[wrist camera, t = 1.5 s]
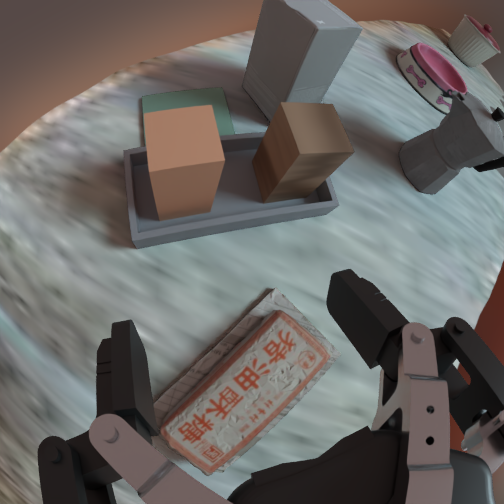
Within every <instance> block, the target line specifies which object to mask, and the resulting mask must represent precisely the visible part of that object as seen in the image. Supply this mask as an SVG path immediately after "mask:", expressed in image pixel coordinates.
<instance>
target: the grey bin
mask: <svg viewBox="0 0 504 504" xmlns="http://www.w3.org/2000/svg"><path fill="white" fill-rule="evenodd" d="M265 133H266V132H260V133H245V134H233V135H222V136H219V137H220V141H221V145H222V149H223V153H224V158H225V163H224V166H223V170H222V173H221V176H220V180H219V183H218V187H217V190H216V194H215V197H214V201H213V205H212V208H211V212H209V213H203V214H197V215H192V216H186V217H181V218H175V219H170V220H165V221H160V220H159V216H158V212H157V208H156V203H155V199H154V194H153V189H152V184H151V180H150V175H149V168H148V158H147V148H146V146H144V147H138V148H133V149H128V150H123V151H124V169H125V182H126V193H127V203H128V213H129V221H130V229H131V236H132V242H133V243H134V245H135V246H136V248H137V249H140V248H145V247H150V246H155V245H160V244H165V243H170V242H175V241H180V240H186V239H191V238H196V237H201V236H207V235H212V234H217V233H223V232H228V231H234V230H239V229H245V228H251V227H256V226H262V225H268V224H274V223H279V222H285V221H291V220H297V219H303V218H309V217H315V216H322V215H327V214H328V213H329V212H331V211H332V210H334V209H335V208H336V207H338V206H339V203H338V200H337V197H336V194H335V191H334V188H333V185H332V182H331V179H330V177H328V178H327V179H326V180H325V181H324V182H322V183H321V184H320V185H319V186H318V187H317V188H316V189H315V190H314V191H313V192H312V193H311V194H310V195H309V196H308V197H307V198H301V199H294V200H286V201H279V202H272V203H265V204H263V200H262V197H261V193H260V189H259V186H258V182H257V179H256V175H255V171H254V168H253V164H252V160H253V158H254V156H255V154H256V151H257V149H258V147H259V145H260V143H261V141H262V139H263V137H264V135H265Z"/></svg>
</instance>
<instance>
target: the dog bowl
mask: <svg viewBox="0 0 504 504" xmlns="http://www.w3.org/2000/svg"><path fill="white" fill-rule="evenodd" d="M396 62H397V65H398V67H399V69H400V71H401V73H402V74H403V76H404V77H405V79H406V80H407V81H408V83H409V84H410V85H411V86H412V87H413V88H414V90H415V91H416V92H417V93H418V94H419V95H420V96H421V97H422V98H423V99H424V100H425V101H427V102H428V103H429V104H430V105H431V106H432V107H434V108H435V109H436V110H438V111H440V112H441V113H443V114H445V115H447V114H448V113H449V112H450V109H451V105H452V99H453V97H452V95H451V92H452V91H455V90H456V91H457V92H458V91H459V92H461V93H462V94H465V93H466V92H468V91H467V87H466V84H465V82H464V80H463V79H462V77H461V76H460V74H459V73H458V72H457V70H456V69H455V68H454V67H453V66H452V64H451V63H450V62H449V61H448V60H447V59H446V58H445V57H444V56H442V55H441V54H440V53H439V52H437V51H436V50H435V49H433V48H432V47H430V46H428V45H426V44H424V43H417V44H415V45H414V46H411V47H410V48H409V49H407V50H406V51H404V52H402V53H400V54H398V55H397V57H396Z"/></svg>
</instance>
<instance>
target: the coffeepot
mask: <svg viewBox="0 0 504 504" xmlns="http://www.w3.org/2000/svg"><path fill="white" fill-rule="evenodd" d="M451 95H452V97H453V99H452V105H451V109H450V112H449V113H448V114H447V115H446V116H445V117H444V119H443V120H442V121H441V123H440V126H439V127H437V128H436V129H431V130H429V131H427V132H425V133H423V134H421V135H419V136H417V137H415V138H413V139H411V140H409V141H406V142H405V144H404V145H403V147H402V148H401V150H400V152H399V157H400V162H401V166H402V168H403V171H404V173H405V175H406V176H407V178H408V179H409V181H410V182H411V183H412V184H413V185H414V186H415V187H416V188H417V189H418V190H419V191H420V192H423V193H426V194H436V193H437V192H438V191H439V190H441V189H442V188H443V187H444V186H445V185H446V184H447V183H449V182H450V181H451V180H452V179H453V178H454V177H455V176H456V175H458V174H459V172H460V170H461V169H462V168H464V167H469V168H471V167H473V168H474V169H476V170H477V171H478V172H483V171H488V170H493V169H497V168H501V167H504V136H503V135H502V133H501V131H500V129H499V126H498V124H497V121H500V120H503V119H504V113H503V111H502V110H501V109H500V108H499V107H497V109H496V110H495V111H494V112H493V113H492V114H491V113H490V112H489V110H488V109H487V108H486V107H485V106H484V104H483V103H482V102H481V101H480V100H479V99H477V98H476V97H475V96H473V95H472V94H470V93H469V92H466V93H465V94H462V93H461V92H459V91H458V92H457V91H456V90H455V91H452V92H451ZM497 158H498V159H497ZM494 159H496V160H494ZM482 163H484V164H482Z"/></svg>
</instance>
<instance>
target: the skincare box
mask: <svg viewBox="0 0 504 504" xmlns="http://www.w3.org/2000/svg"><path fill="white" fill-rule="evenodd" d="M362 29H363V28H362V27H361V26H360V25H358V24H357V23H356V22H355V21H353V20H352V19H351V18H350V17H349V16H347V15H346V14H345V13H343V12H342V11H341V10H339V9H338V8H337V7H335V6H334V5H333V4H332V3H330V2H329V1H327V0H264V1H263V4H262V8H261V12H260V16H259V20H258V24H257V28H256V32H255V35H254V39H253V43H252V47H251V51H250V55H249V60H248V64H247V68H246V72H245V77H244V81H243V85H242V87H243V88H244V89H245V90H246V91H247V93H248V94H249V95H250V96H251V98H252V99H253V100H254V101H255V103H256V104H257V105H258V106H259V108H260V109H261V110H262V112H263V113H264V114H265V116H266V117H267V118H268V119H269V121H270V122H271V120H272V118H273V116H274V114H275V112H276V110H277V108H278V106H279V104H280V102H299V103H320V102H321V100H322V99H323V97H324V95H325V93H326V92H327V90H328V88H329V86H330V85H331V83H332V81H333V79H334V78H335V76H336V74H337V72H338V71H339V69H340V67H341V65H342V64H343V62H344V60H345V59H346V57H347V55H348V53H349V52H350V50H351V48H352V47H353V45H354V43H355V41H356V40H357V38H358V36H359V35H360V33H361V31H362Z"/></svg>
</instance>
